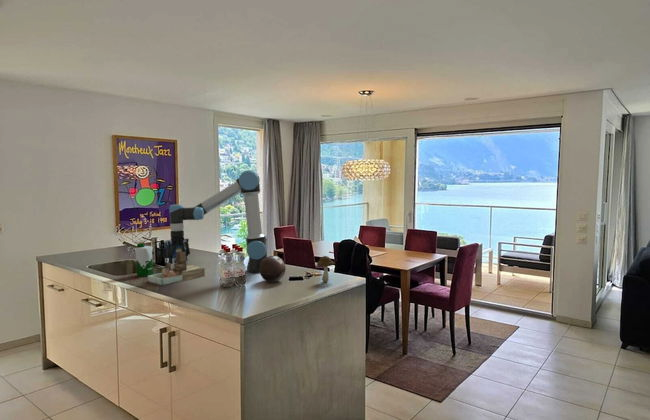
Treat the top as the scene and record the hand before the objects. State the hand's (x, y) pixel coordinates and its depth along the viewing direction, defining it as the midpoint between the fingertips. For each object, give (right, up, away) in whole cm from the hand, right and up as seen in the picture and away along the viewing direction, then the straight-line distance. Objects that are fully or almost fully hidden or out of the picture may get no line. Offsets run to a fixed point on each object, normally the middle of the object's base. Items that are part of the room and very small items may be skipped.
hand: (178, 267), depth 253 cm
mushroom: (+89, -6, -14) cm, 91 cm away
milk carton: (-25, -6, +10) cm, 28 cm away
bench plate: (+3, -6, +4) cm, 8 cm away
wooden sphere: (+59, -7, -12) cm, 60 cm away
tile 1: (-1, -3, -7) cm, 8 cm away
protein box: (-21, -3, +53) cm, 57 cm away
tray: (-6, -7, -6) cm, 11 cm away
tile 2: (-4, -4, -5) cm, 8 cm away
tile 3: (-7, -3, -2) cm, 8 cm away
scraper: (0, -1, 0) cm, 1 cm away
